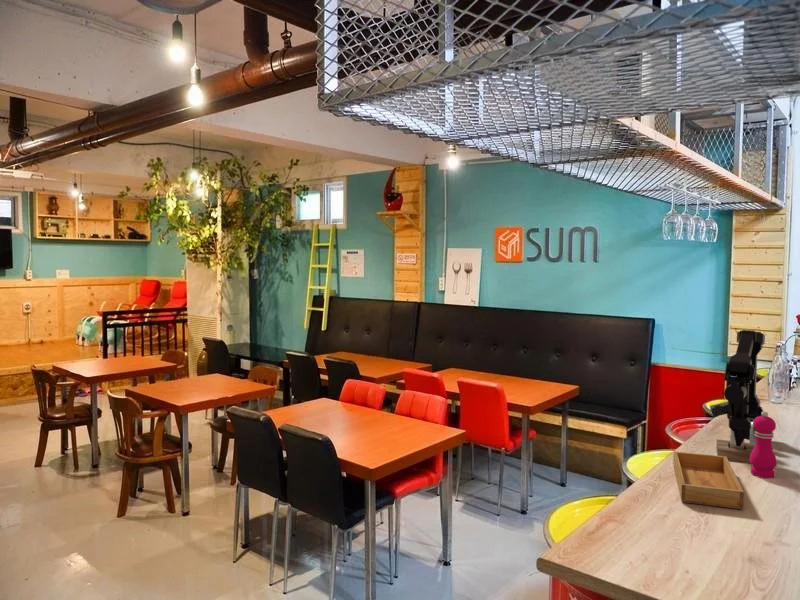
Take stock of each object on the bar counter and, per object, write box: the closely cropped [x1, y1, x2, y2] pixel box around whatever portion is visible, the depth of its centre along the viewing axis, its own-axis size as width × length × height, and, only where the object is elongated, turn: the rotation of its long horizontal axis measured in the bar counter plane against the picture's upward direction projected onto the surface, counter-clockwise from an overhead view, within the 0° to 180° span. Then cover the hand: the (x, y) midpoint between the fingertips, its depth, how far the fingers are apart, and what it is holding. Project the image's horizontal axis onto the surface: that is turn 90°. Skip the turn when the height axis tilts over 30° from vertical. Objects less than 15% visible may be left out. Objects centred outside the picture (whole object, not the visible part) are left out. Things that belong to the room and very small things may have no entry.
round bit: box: [749, 421, 756, 444], centre depth 208 cm, size 4×4×9 cm
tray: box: [672, 450, 745, 510], centre depth 174 cm, size 31×15×6 cm, turn 159°
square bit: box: [729, 428, 745, 450], centre depth 200 cm, size 4×4×9 cm
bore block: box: [716, 438, 755, 463], centre depth 200 cm, size 12×12×3 cm
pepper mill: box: [749, 410, 778, 479], centre depth 182 cm, size 7×7×20 cm
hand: (737, 442), depth 200 cm, fingers open, 9 cm apart
